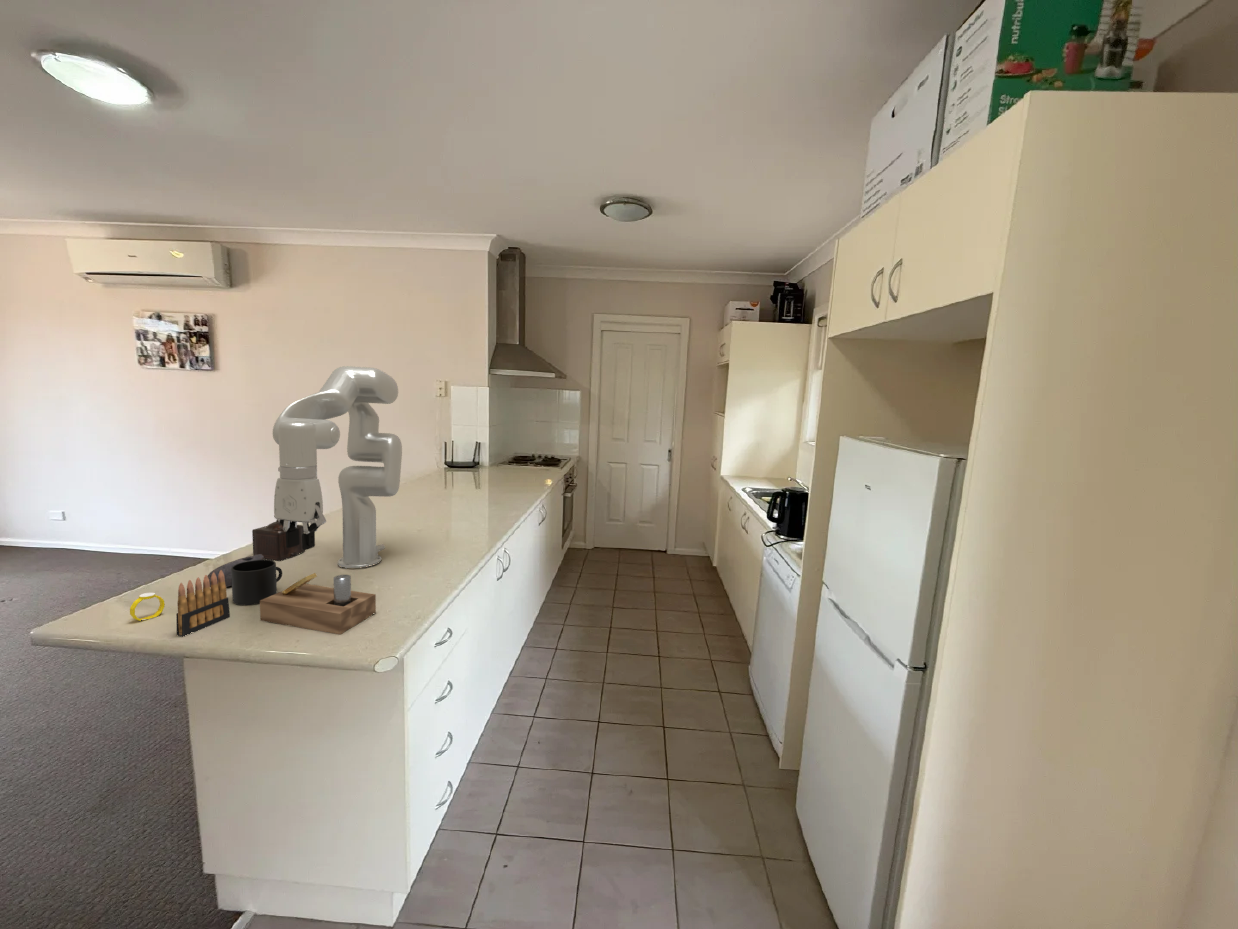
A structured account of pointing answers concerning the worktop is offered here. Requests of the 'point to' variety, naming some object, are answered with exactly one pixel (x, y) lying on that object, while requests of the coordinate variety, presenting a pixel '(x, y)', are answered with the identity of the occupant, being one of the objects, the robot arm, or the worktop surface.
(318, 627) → the walnut block
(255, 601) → the mug
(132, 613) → the yellow ring
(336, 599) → the steel pin
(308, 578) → the bar
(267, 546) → the manual coffee grinder
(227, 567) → the perforated stone tool
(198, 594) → the ammunition clip
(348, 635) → the worktop surface
